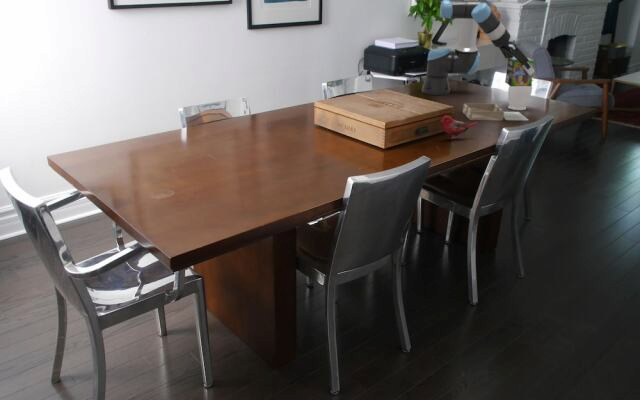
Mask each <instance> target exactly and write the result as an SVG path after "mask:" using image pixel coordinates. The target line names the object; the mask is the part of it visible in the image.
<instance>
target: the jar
mask: <svg viewBox="0 0 640 400" xmlns="http://www.w3.org/2000/svg"><path fill="white" fill-rule="evenodd" d="M533 82H534V78H533V77H532V83H531V86H510V85H508V90H507V95H508V96H507V97H508V98H507V99H508V101H507V102H508V104H509V105H508V106H507V108H508V109H510V110H514V111H525V110H527V104H528V103H529V101H530V98H531V95H532V92H533V91H532V90H533Z"/></svg>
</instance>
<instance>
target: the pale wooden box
mask: <svg viewBox="0 0 640 400" xmlns="http://www.w3.org/2000/svg"><path fill="white" fill-rule="evenodd" d="M504 112H505V111H504V110H502V109H501V107H500V106H498V105H497V104H495V103H463V106H462V113H463V114H464V115H465V116H466V117H467V118H468V120H469V121H503V120H504V118H503V116H504Z"/></svg>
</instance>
